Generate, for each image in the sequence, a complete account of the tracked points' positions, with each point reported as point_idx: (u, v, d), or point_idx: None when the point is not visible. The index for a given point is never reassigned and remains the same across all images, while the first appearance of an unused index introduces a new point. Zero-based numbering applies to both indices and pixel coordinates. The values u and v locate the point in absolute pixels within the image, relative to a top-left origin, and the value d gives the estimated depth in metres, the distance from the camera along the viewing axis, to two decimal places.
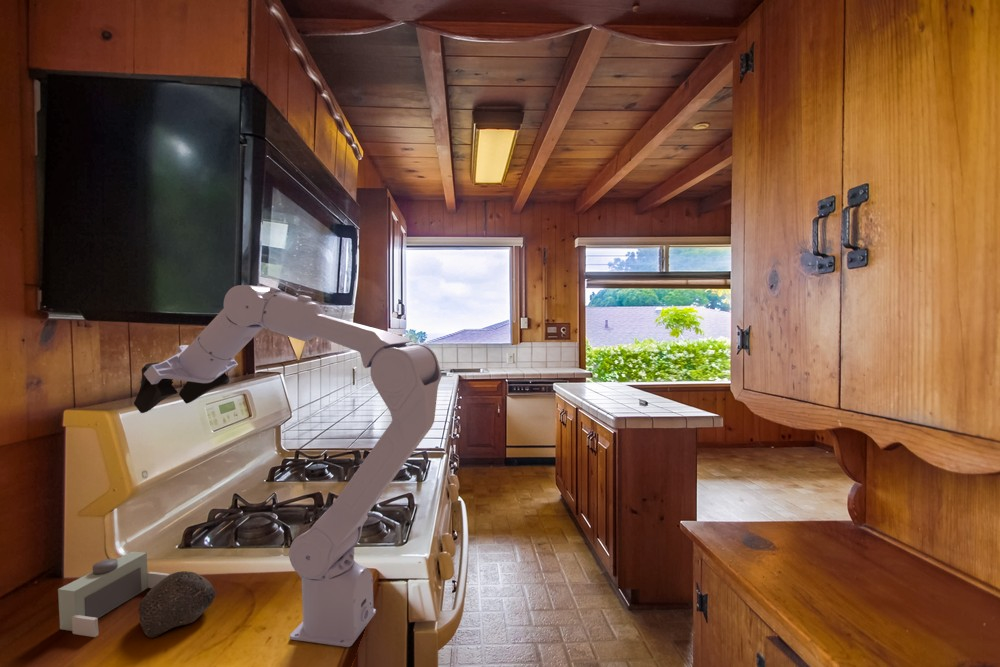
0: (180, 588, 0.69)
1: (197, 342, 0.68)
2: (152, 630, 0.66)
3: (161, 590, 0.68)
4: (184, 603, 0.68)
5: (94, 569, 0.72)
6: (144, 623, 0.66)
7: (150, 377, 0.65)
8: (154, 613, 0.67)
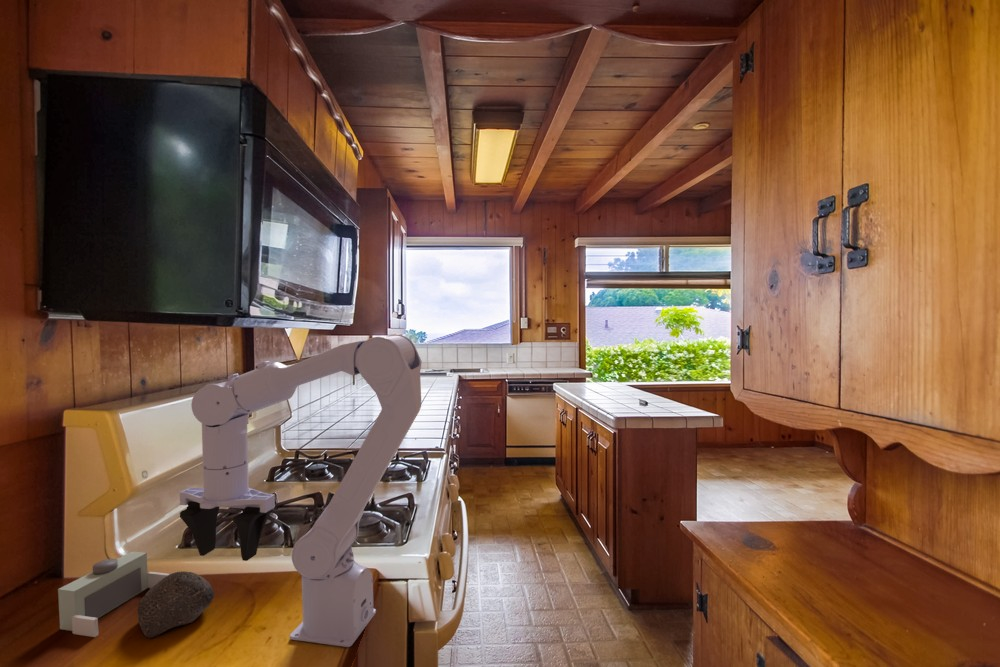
0: (179, 589, 0.69)
1: (235, 468, 0.67)
2: (151, 630, 0.66)
3: (160, 590, 0.68)
4: (183, 603, 0.68)
5: (94, 569, 0.72)
6: (143, 623, 0.66)
7: (271, 505, 0.67)
8: (152, 614, 0.67)
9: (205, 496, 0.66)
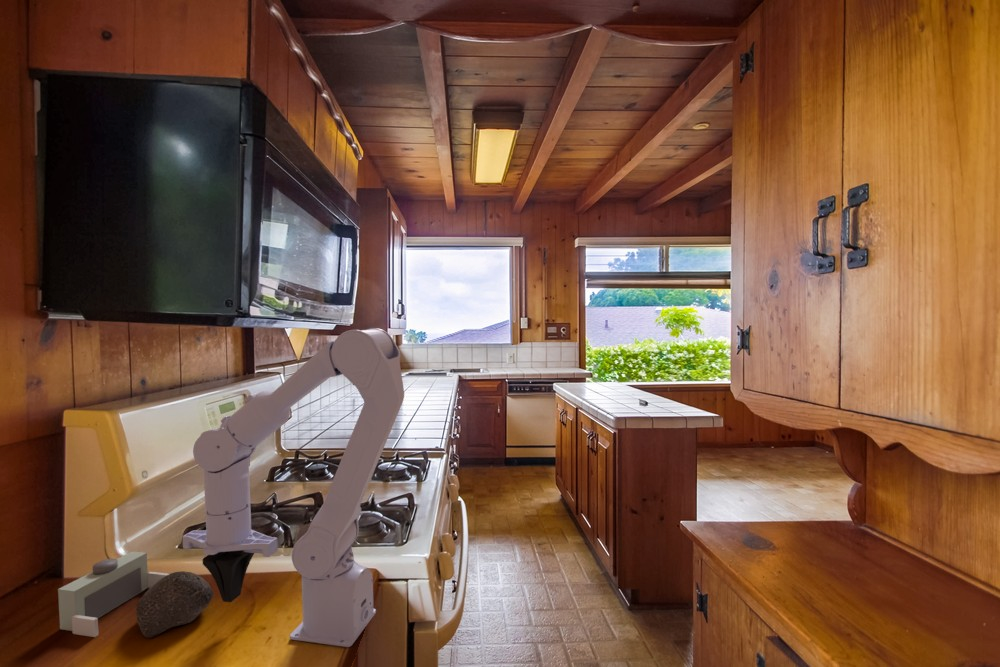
0: (178, 588, 0.69)
1: (237, 513, 0.67)
2: (150, 630, 0.66)
3: (158, 590, 0.68)
4: (182, 603, 0.68)
5: (94, 569, 0.72)
6: (142, 623, 0.66)
7: (273, 549, 0.68)
8: (151, 614, 0.67)
9: (208, 541, 0.67)
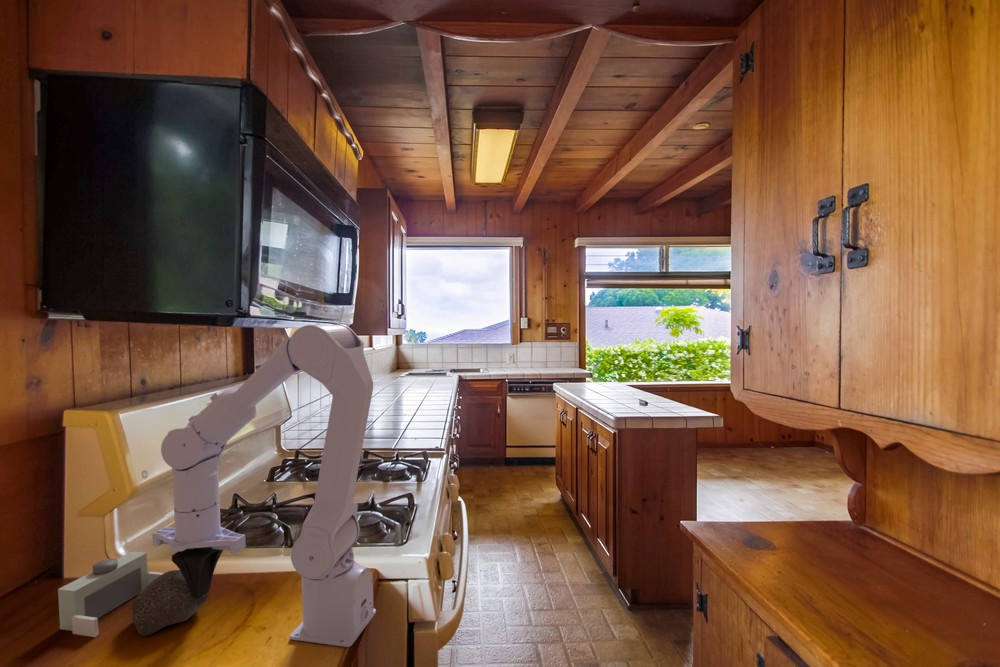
0: (173, 587, 0.69)
1: (205, 510, 0.68)
2: (145, 628, 0.67)
3: (154, 589, 0.68)
4: (178, 601, 0.69)
5: (94, 569, 0.72)
6: (137, 621, 0.66)
7: (241, 546, 0.69)
8: (147, 612, 0.67)
9: (176, 538, 0.68)
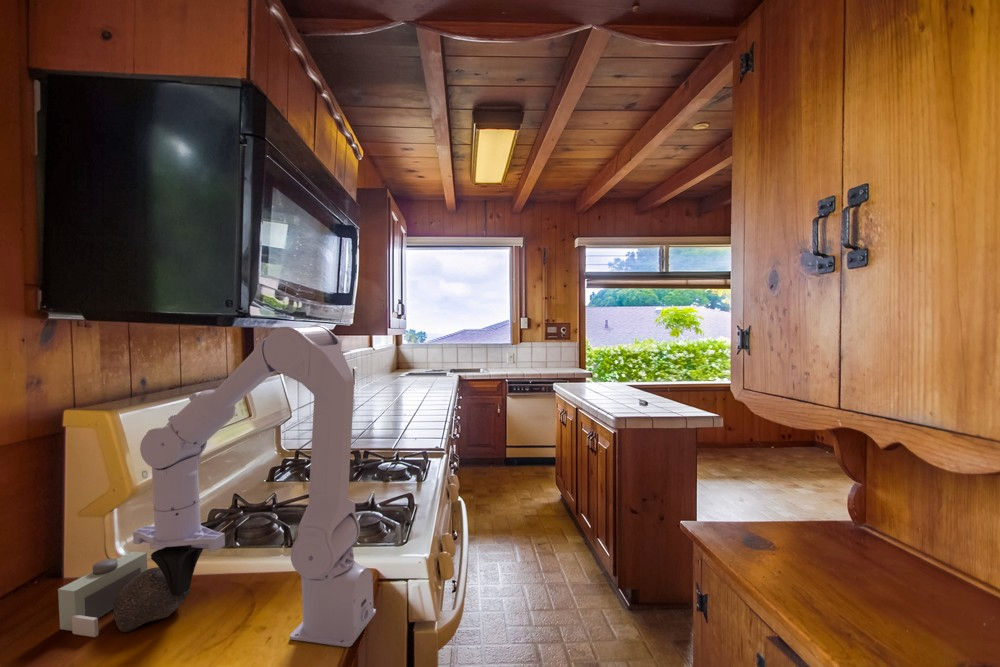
0: (154, 584, 0.70)
1: (185, 509, 0.69)
2: (126, 625, 0.67)
3: (135, 586, 0.69)
4: (158, 598, 0.69)
5: (94, 569, 0.72)
6: (118, 618, 0.67)
7: (220, 544, 0.70)
8: (127, 608, 0.68)
9: (156, 536, 0.68)
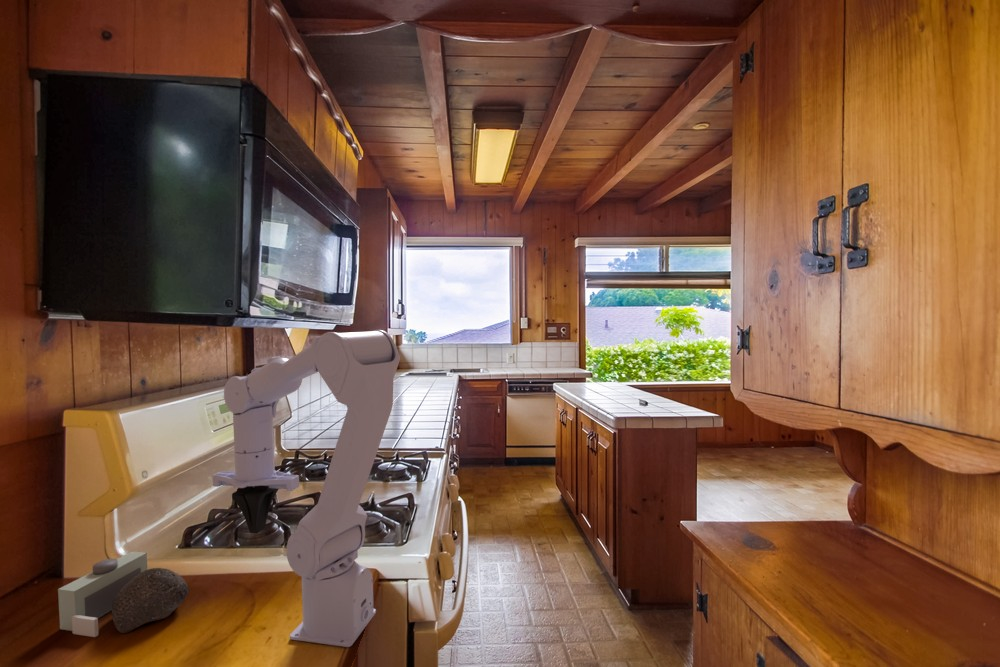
0: (152, 585, 0.70)
1: (263, 452, 0.75)
2: (124, 625, 0.67)
3: (133, 586, 0.69)
4: (157, 599, 0.70)
5: (94, 569, 0.72)
6: (116, 619, 0.67)
7: (296, 485, 0.75)
8: (126, 609, 0.68)
9: (237, 477, 0.74)
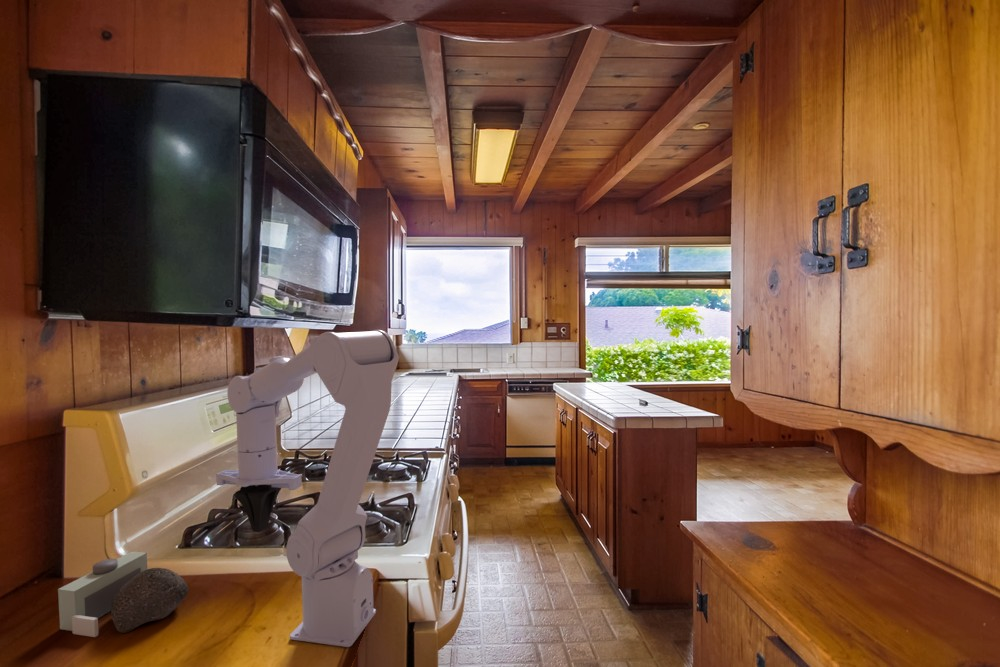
0: (152, 584, 0.70)
1: (266, 451, 0.75)
2: (124, 625, 0.67)
3: (133, 586, 0.69)
4: (156, 599, 0.70)
5: (94, 569, 0.72)
6: (116, 618, 0.67)
7: (298, 484, 0.76)
8: (125, 609, 0.68)
9: (240, 476, 0.75)
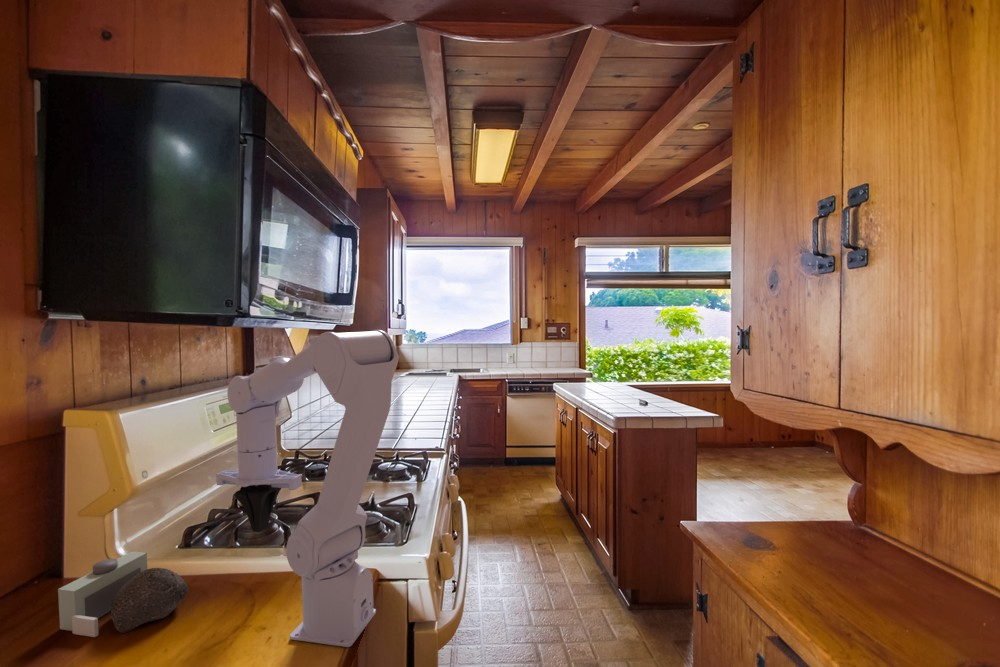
0: (152, 584, 0.70)
1: (266, 451, 0.75)
2: (123, 625, 0.68)
3: (132, 586, 0.69)
4: (156, 599, 0.70)
5: (94, 569, 0.72)
6: (115, 618, 0.67)
7: (298, 484, 0.76)
8: (125, 609, 0.68)
9: (240, 476, 0.75)
